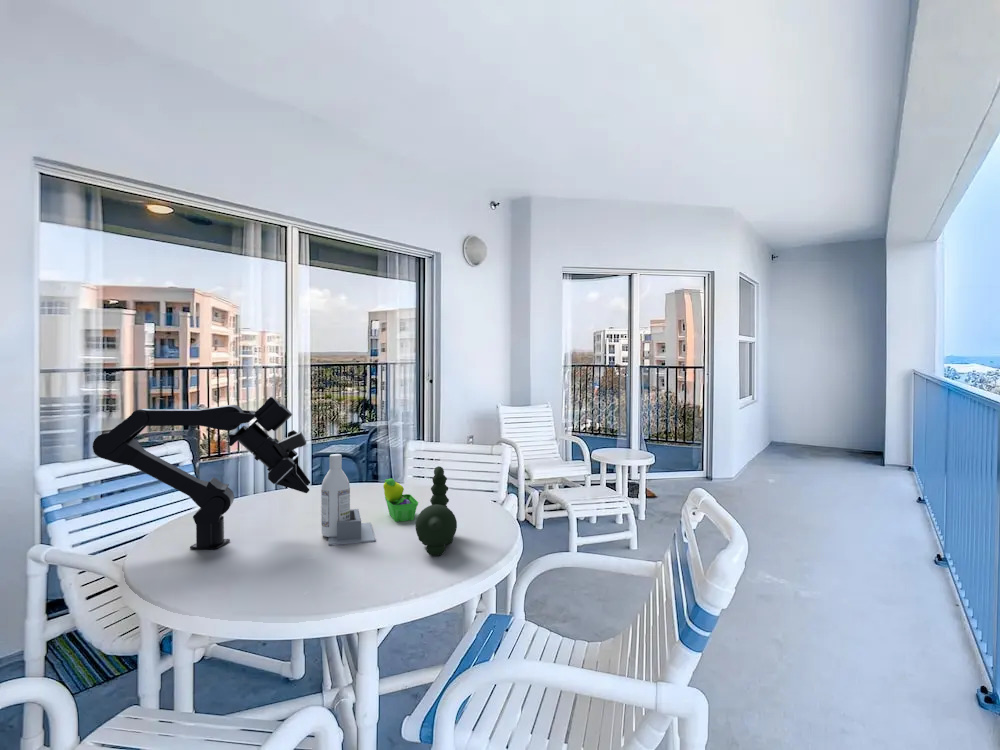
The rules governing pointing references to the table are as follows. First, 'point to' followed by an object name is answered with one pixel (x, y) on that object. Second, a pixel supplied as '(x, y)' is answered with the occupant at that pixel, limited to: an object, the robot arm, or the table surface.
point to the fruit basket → (399, 501)
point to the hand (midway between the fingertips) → (308, 487)
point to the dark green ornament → (437, 518)
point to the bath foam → (334, 497)
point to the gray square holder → (352, 531)
